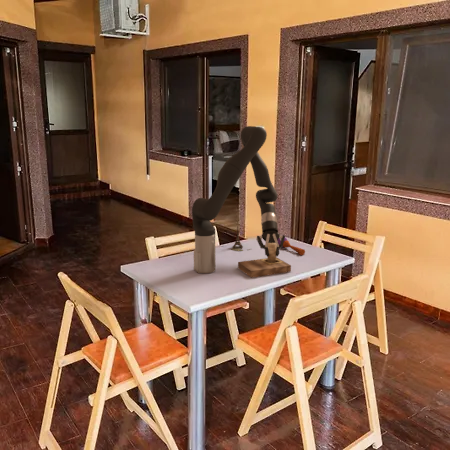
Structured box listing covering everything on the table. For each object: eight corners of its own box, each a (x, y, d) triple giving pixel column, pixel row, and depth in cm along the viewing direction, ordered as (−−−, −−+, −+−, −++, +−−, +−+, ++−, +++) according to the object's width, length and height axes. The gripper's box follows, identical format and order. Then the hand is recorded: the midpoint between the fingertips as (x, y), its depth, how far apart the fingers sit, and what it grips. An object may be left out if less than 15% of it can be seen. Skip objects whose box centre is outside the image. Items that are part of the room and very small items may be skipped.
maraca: (297, 248, 240) (274, 237, 256) (298, 259, 242) (274, 247, 259) (306, 245, 243) (282, 233, 259) (307, 255, 245) (283, 243, 261)
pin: (269, 264, 220) (270, 245, 218) (265, 261, 224) (266, 243, 222) (277, 262, 222) (278, 244, 220) (273, 260, 225) (273, 242, 223)
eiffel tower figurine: (220, 247, 259) (220, 223, 256) (234, 244, 265) (235, 220, 262) (238, 253, 247) (238, 228, 244) (253, 249, 254) (253, 225, 250)
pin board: (251, 277, 210) (251, 270, 209) (237, 268, 222) (238, 261, 221) (290, 271, 217) (291, 265, 216) (275, 263, 230) (276, 256, 229)
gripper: (255, 220, 225) (258, 252, 216) (285, 219, 226) (289, 251, 217) (253, 228, 232) (256, 259, 223) (283, 227, 232) (286, 259, 224)
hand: (272, 255), depth 220 cm, fingers closed on pin, 3 cm apart
